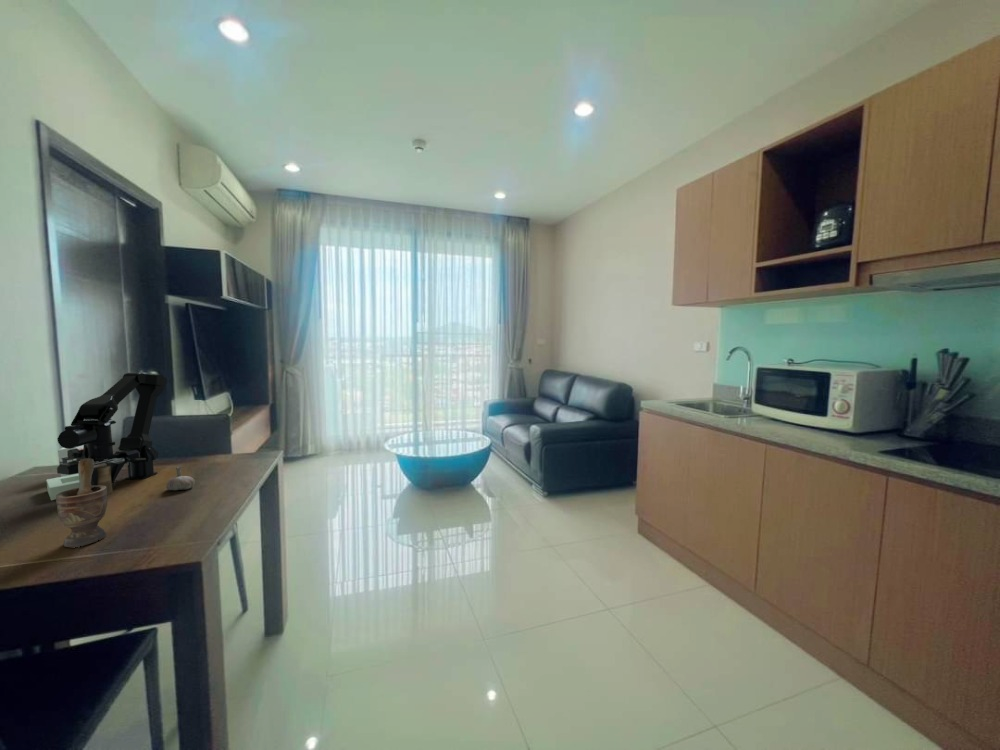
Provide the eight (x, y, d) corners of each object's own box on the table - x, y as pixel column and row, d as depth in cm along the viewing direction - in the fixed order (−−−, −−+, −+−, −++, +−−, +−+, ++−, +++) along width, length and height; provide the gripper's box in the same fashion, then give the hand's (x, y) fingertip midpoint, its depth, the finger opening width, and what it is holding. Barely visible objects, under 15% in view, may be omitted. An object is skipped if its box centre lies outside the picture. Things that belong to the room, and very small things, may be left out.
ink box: (72, 473, 143) (69, 443, 142) (90, 471, 146) (88, 442, 145) (60, 481, 136) (57, 449, 135) (79, 479, 138) (76, 447, 137)
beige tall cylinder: (115, 491, 127) (113, 465, 127) (103, 495, 124) (101, 469, 123) (103, 491, 127) (101, 465, 127) (91, 495, 123) (89, 469, 123)
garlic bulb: (161, 491, 128) (159, 468, 127) (185, 483, 135) (184, 462, 134) (176, 494, 125) (174, 471, 125) (200, 486, 132) (198, 464, 132)
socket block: (99, 480, 136) (98, 470, 136) (105, 488, 129) (104, 477, 129) (47, 491, 127) (46, 479, 126) (50, 500, 120) (49, 488, 119)
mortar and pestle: (54, 539, 97) (46, 463, 95) (102, 525, 104) (96, 455, 102) (64, 553, 91) (57, 472, 89) (114, 537, 98) (108, 462, 96)
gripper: (115, 432, 135) (119, 474, 136) (42, 445, 117) (47, 494, 118) (139, 434, 132) (142, 477, 134) (67, 448, 114) (72, 498, 115)
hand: (103, 486), depth 125 cm, fingers open, 4 cm apart
